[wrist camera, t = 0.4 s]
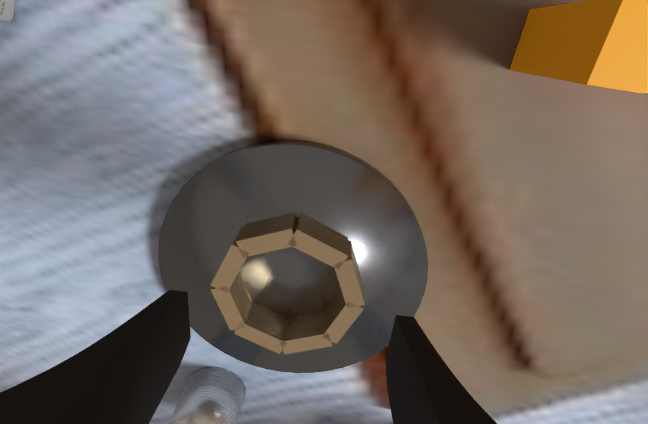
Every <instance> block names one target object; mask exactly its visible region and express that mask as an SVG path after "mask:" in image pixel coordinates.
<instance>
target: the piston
mask: <svg viewBox="0 0 648 424" xmlns="http://www.w3.org/2000/svg"><path fill="white" fill-rule="evenodd" d="M245 394H246V388H245V385H244V383H243V381H242V380H241V379H240V378H239V377H238V376H237V375H236V374H234V373H233V372H231V371H229V370H226V369H223V368H219V367H205V368H201V369H198V370H196V371H195V372H194V373H193V374H192V375H191V376H190V378H189V380H188V382H187V384H186V386H185V389H184V391H183V393H182V395H181V397H180V400H179V402H178V404H177V406H176V409H175V411H174V413H173V415H172V417H171V420H170V422H169V424H237V423H238V420H239V416H240V412H241V409H242V405H243V401H244V398H245Z"/></svg>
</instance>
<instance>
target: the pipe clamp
mask: <svg viewBox="0 0 648 424" xmlns="http://www.w3.org/2000/svg"><path fill="white" fill-rule="evenodd" d="M510 70H513V71H518V72H523V73H529V74H534V75H539V76H544V77H550V78H555V79H560V80H566V81H571V82H576V83H582V84H587V85H593V86H599V87H606V88H612V89H618V90H624V91H630V92H636V93H643V94H644V93H648V0H587V1H581V2H575V3H568V4H562V5H555V6H549V7H543V8H536V9H530V10H529V13H528V16H527V19H526V22H525V25H524V28H523V31H522V34H521V37H520V40H519V43H518V46H517V49H516V52H515V55H514V58H513V61H512V64H511V67H510Z"/></svg>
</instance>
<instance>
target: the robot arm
mask: <svg viewBox="0 0 648 424" xmlns="http://www.w3.org/2000/svg"><path fill="white" fill-rule="evenodd" d="M190 337H191V336H190V321H189V306H188V292H185V291H176V290H169V291H168V292H166V293H165V294H163V295H162V296H161V297H159V298H158V299H157V300H155V301H154V302H153V303H151V304H150V305H149V306H147V307H146V308H145V309H143V310H142V311H140V312H139V313H138V314H136V315H135V316H134V317H132V318H131V319H129V320H128V321H127V322H125V323H124V324H122V325H121V326H120V327H118V328H117V329H115V330H114V331H112V332H111V333H109V334H108V335H106V336H105V337H103V338H102V339H100V340H99V341H97V342H95V343H94V344H92V345H91V346H89V347H88V348H86V349H84V350H83V351H81V352H79V353H78V354H76V355H74V356H73V357H71V358H69V359H67V360H65V361H64V362H62V363H60V364H58V365H56V366H55V367H53V368H51V369H49V370H47V371H45V372H43V373H41V374H39V375H37V376H35V377H33V378H31V379H29V380H26V381H24V382H22V383H20V384H18V385H16V386H14V387H12V388H10V389H8V390H5V391H3V392H1V393H0V424H149V422H150V420H151V418H152V416H153V414H154V413H155V411H156V409H157V407H158V405H159V403H160V401H161V400H162V398H163V396H164V394H165V392H166V390H167V388H168V387H169V385H170V383H171V381H172V379H173V377H174V375H175V373H176V372H177V370H178V368H179V366H180V363H181V361H182V358H183V356H184V353H185V351H186V348H187V346H188V343H189V340H190ZM386 376H387V389H388V395H389V401H390V407H391V413H392V418H393V424H497V423H496V422H495V421H494V420H493V419H492V418H491V417H490V416H489V415H488V414H487V413H486V412H485V411H484V410H483V408H482V407H481V406H480V405H479V404H478V403H477V402H476V401H475V400H474V399H473V398H472V396H471V395H470V394H469V393H468V392H467V391H466V389H465V388H464V387H463V386H462V384H461V383H460V382H459V381H458V379H457V378H456V377H455V376H454V374H453V373H452V372H451V370H450V369H449V368H448V366H447V365H446V364H445V362H444V361H443V360H442V358H441V357H440V355H439V354H438V353H437V351H436V350H435V348H434V347H433V345H432V344H431V342H430V341H429V339H428V338H427V336H426V335H425V333H424V332H423V330H422V329H421V327H420V326H419V324H418V323H417V321H416V320H415V318H414V317H410V316H401V315H396V316H395V320H394V325H393V329H392V333H391V338H390V342H389V346H388V351H387V355H386Z"/></svg>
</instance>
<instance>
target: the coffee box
mask: <svg viewBox="0 0 648 424" xmlns="http://www.w3.org/2000/svg"><path fill="white" fill-rule="evenodd" d="M15 3H16V0H0V21H6V22H9V21H11V20H12V18H13V15H14V9H15Z"/></svg>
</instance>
